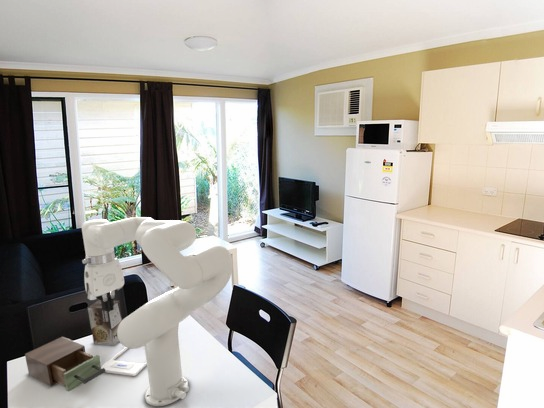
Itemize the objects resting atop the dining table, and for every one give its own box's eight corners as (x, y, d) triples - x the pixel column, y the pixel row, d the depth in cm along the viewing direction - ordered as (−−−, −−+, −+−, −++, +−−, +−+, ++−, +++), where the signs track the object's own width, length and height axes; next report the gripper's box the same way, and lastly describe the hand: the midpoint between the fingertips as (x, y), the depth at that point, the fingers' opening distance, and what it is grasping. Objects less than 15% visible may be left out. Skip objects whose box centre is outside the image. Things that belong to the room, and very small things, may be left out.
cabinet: (87, 365, 126) (84, 345, 124) (50, 386, 116) (46, 365, 114) (66, 355, 132) (62, 336, 130) (28, 374, 121) (24, 354, 120)
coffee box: (125, 336, 144) (120, 300, 141) (114, 345, 138) (108, 308, 135) (104, 335, 145) (99, 299, 142) (92, 344, 139) (86, 307, 135)
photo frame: (97, 368, 123) (134, 339, 140) (97, 371, 123) (134, 341, 140) (134, 373, 120) (167, 342, 138) (134, 376, 121) (167, 345, 138)
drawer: (112, 377, 119) (110, 360, 118) (80, 397, 110) (77, 380, 109) (80, 361, 127) (77, 346, 125) (46, 380, 118) (43, 363, 116)
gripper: (82, 267, 104) (91, 323, 108) (130, 252, 117) (137, 302, 121) (68, 263, 107) (77, 318, 111) (116, 249, 120) (123, 298, 124)
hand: (108, 309), depth 116 cm, fingers closed
